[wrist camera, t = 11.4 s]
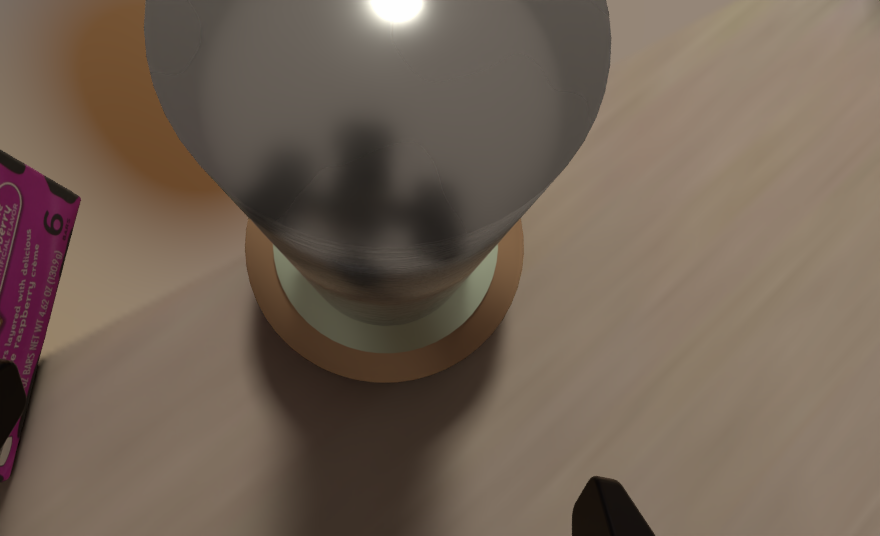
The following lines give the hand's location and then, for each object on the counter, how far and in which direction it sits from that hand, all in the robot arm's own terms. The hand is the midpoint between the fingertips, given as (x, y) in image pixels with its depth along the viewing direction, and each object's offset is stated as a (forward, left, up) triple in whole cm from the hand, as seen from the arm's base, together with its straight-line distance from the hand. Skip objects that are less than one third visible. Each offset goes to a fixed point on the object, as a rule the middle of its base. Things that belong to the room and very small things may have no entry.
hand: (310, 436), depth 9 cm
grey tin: (+4, +4, -10) cm, 12 cm away
